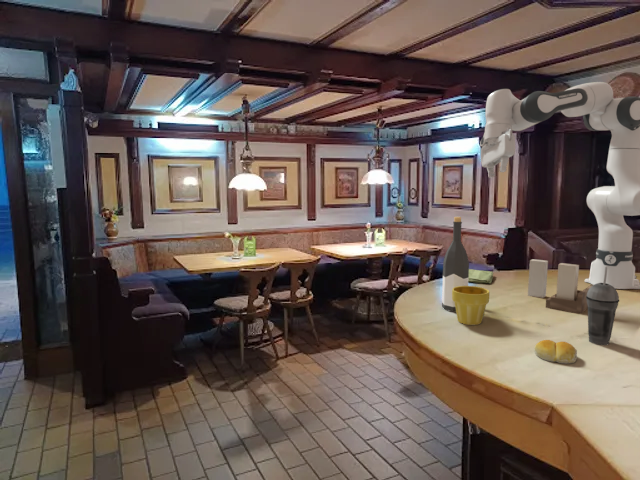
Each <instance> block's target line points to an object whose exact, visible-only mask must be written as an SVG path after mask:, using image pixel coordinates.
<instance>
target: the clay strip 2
mask: <svg viewBox="0 0 640 480" xmlns="http://www.w3.org/2000/svg"><path fill="white" fill-rule="evenodd" d="M579 272H580V264H572V263H565V262H564V263H563V262H560V263H559V264H558V267H557V282H556V293H555V294H556V298H562V299H568V300H574V301H576V300H577V290H578V286H579V284H578V283H579V282H578V281H579Z"/></svg>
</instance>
